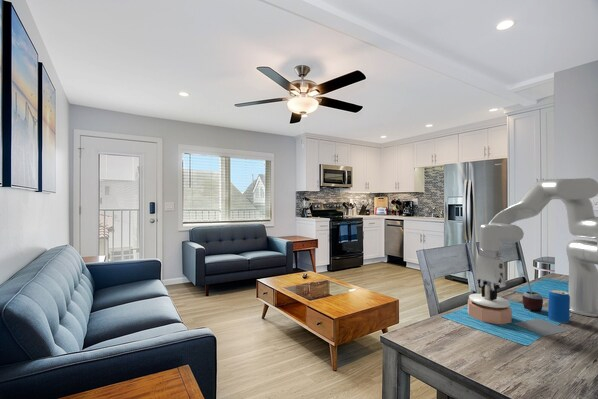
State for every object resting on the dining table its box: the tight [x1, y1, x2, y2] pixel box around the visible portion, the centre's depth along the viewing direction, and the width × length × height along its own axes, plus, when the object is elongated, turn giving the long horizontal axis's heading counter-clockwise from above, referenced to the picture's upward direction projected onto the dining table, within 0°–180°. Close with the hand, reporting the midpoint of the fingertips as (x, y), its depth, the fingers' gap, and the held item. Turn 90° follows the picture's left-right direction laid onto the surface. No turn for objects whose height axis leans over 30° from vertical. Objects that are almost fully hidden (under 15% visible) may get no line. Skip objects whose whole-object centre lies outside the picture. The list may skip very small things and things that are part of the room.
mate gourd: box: [521, 274, 544, 313], centre depth 132 cm, size 8×8×15 cm
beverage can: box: [547, 289, 570, 324], centre depth 121 cm, size 6×6×12 cm
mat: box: [513, 317, 571, 337], centre depth 115 cm, size 15×11×1 cm
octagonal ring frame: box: [467, 298, 513, 325], centre depth 124 cm, size 15×15×6 cm
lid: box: [468, 283, 511, 308], centre depth 124 cm, size 14×14×7 cm
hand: (489, 297), depth 124 cm, fingers closed on lid, 3 cm apart
